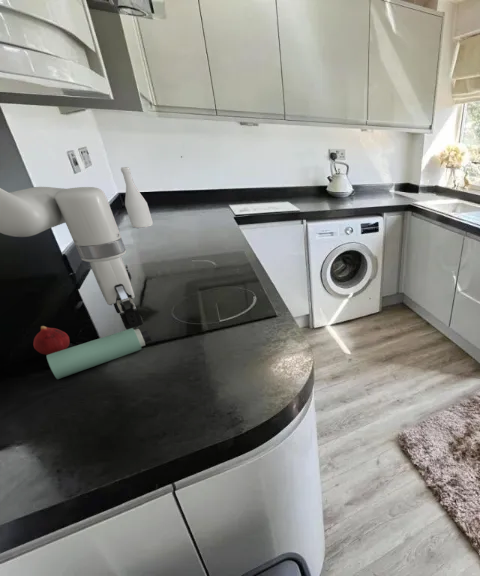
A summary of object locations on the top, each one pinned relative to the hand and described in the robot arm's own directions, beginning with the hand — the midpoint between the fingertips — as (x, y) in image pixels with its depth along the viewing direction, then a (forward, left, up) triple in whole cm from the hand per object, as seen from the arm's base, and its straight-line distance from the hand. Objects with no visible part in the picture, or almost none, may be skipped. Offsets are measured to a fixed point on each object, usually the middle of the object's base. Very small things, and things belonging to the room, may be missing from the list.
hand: (129, 318), depth 75 cm
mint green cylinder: (-5, -4, -9) cm, 11 cm away
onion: (-18, -1, -9) cm, 20 cm away
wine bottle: (-61, +114, -9) cm, 130 cm away
